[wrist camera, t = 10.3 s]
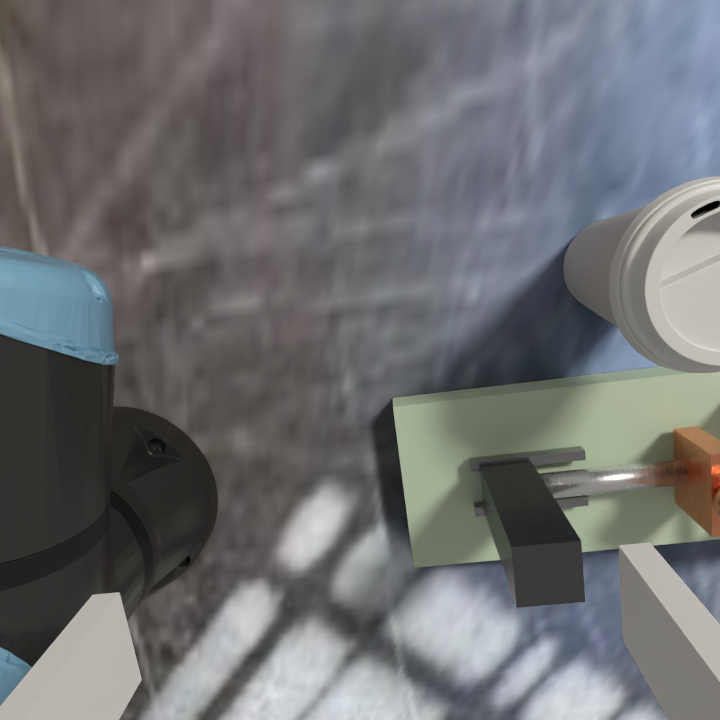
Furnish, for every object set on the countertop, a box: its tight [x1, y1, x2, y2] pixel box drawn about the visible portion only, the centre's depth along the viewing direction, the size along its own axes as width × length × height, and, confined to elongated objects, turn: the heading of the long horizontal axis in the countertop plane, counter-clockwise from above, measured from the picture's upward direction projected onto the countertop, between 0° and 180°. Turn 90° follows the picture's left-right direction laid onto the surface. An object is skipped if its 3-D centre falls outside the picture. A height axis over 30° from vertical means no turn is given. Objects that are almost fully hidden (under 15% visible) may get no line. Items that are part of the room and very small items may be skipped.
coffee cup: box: [563, 177, 720, 373], centre depth 33 cm, size 10×10×15 cm
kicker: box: [480, 426, 720, 608], centre depth 35 cm, size 16×6×11 cm, turn 98°
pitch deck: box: [393, 366, 720, 568], centre depth 42 cm, size 23×13×2 cm, turn 98°
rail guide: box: [469, 446, 588, 517], centre depth 41 cm, size 8×4×1 cm, turn 98°
